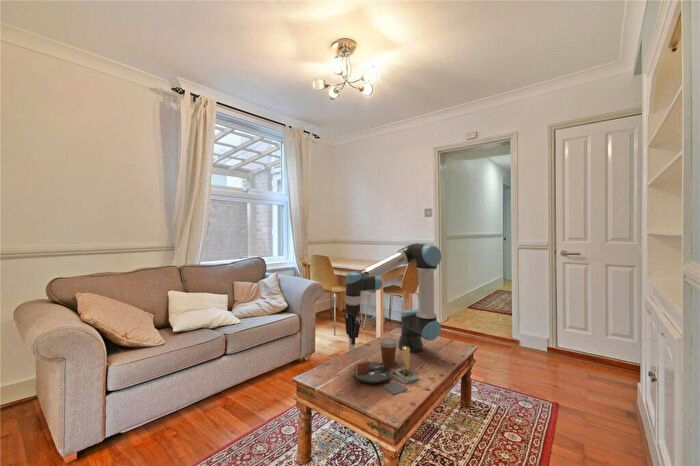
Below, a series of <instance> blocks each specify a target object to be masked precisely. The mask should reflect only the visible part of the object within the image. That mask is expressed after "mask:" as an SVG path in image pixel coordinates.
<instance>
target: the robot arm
mask: <svg viewBox="0 0 700 466" xmlns="http://www.w3.org/2000/svg"><path fill="white" fill-rule="evenodd" d="M441 261H442V252H441V250H440V248H439V247H438V246H436V245H434V244H430V243H412V244H409V245H406V246H404V247H401V249H398V250H397V252H396V253H393V254H392V255H390V256H388V257H386V258H384V259H382V260H380V261H378V262H376V263H374V264H372V265H370V266H367V267H365V268H363V269H361V270H358V271H352V272H347V274H346V276H345V305H344V306H345V312H346V313H345V314H344V315H343V317H344V322H345V332H346V335H347V337H348V351H349V352H353V351H355V350H356V339H357V338H359V334H360V328H361V325H362V321H363V320H362V319H360V318H359V313H360V311H361V301H362V299H361V293H362V292H369V291H370V292H371V291H372V292H373V291H378V290H379V291H380V290H381V289H382V287H383V279H382V277H381V276H383V275H385V274H387V273H388V272H391V271H392V270H395V269H397V268H399V267H400V266H402V265H403V266H404V265H408V264H411V263H412V264H413V263H414V264H415V268H416V269H417V270H418V309H405V310H402V311H401V315H400V316H401V318H400V319H401V321H400V323H401V324H400V329H401V330H400V331H401V332H400V336H399V340H398V342H397V347H398V348H399V350H401V351H402V346H408V347H410V353H421V351H423V349H424V344H423V339H424V340H425V341H429V342H431V341H434V340H436V339H437V338H438V337H439V335H440V333H441V331H442V326H441V324H440V322H439V321H437V317H438V316H437V314H436V313H435V271H436V270H437V268H438V266H439V264H441V263H440V262H441Z"/></svg>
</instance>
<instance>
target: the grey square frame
mask: <svg viewBox="0 0 700 466" xmlns="http://www.w3.org/2000/svg"><path fill="white" fill-rule="evenodd" d="M392 377H394V378H395V379H397V380H398V381H399V382H401V383H402V384H404V385H406V384H410V383H411V382H414V381H418V380H419V379H420V378H419V373H418V372H416V371H414V370H412V369H410V368H409V375H408V376H403V375H402V367H401V368H398V369H395V370H393V371H392Z"/></svg>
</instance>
